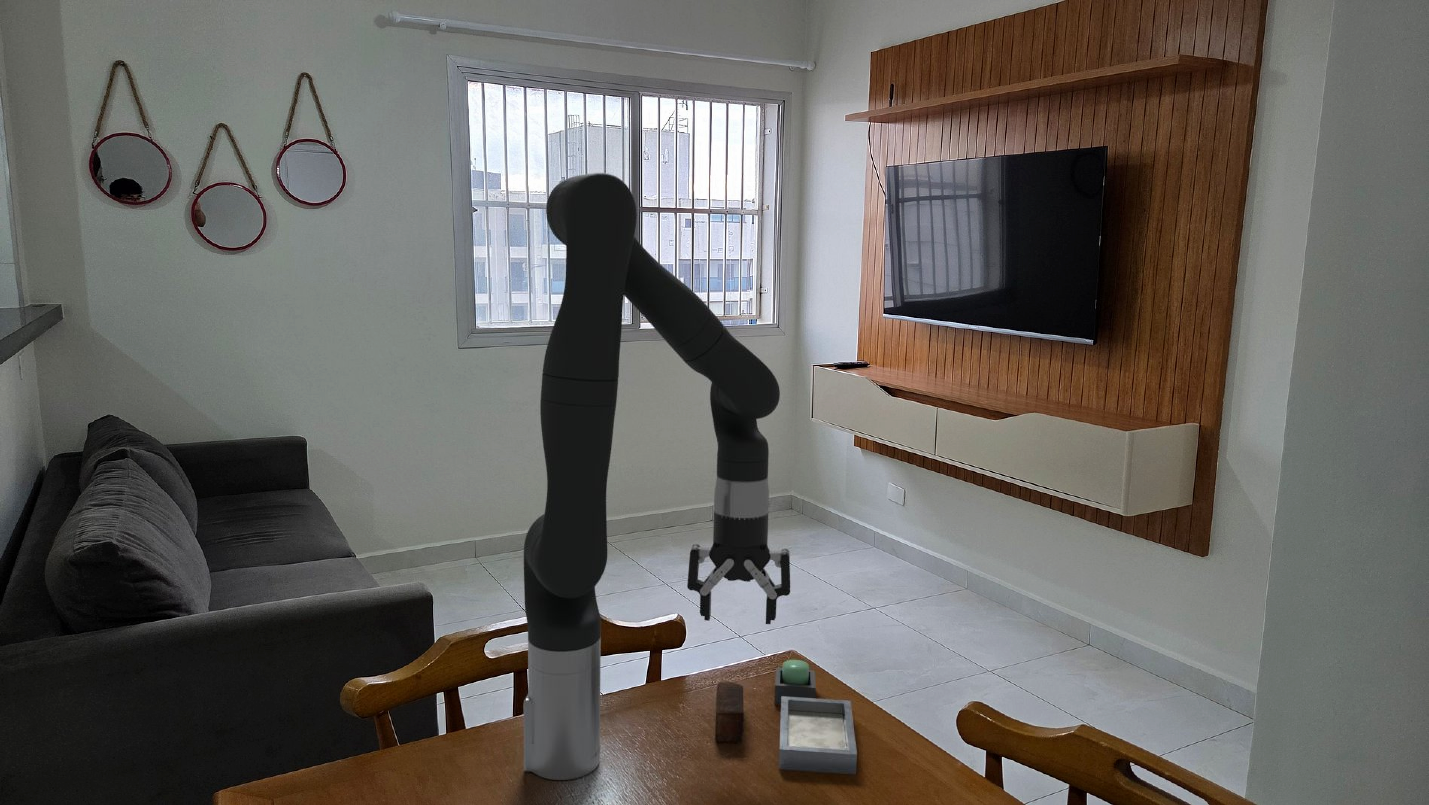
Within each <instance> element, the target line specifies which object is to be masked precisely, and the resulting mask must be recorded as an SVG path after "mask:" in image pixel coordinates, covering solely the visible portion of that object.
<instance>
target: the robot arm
mask: <svg viewBox="0 0 1429 805" xmlns="http://www.w3.org/2000/svg"><path fill="white" fill-rule="evenodd" d="M637 213H638V212H637V205H636V202H635V198H634V195H633V194H632V191H631V189H630V187H629V186H628V185H627V184H626V183H625V182H624V181H623V180H621V179H620V177H618V176H616V175H614V174H611V173H607V172H592V173H585V174H581V175H575V176H571V177H568V178H566V179H564V180H562V181H560V182H559V183H558V184H556V185H555V187H554V188H553V189H552V191H551V192H550V194H549V196H548V198H547V202H546V209H545V214H546V220H547V224H548V226H549V228H550V231H551V232H552V234H553V236H555V237H556V239H557V240H558V241H559V242H560V243H562V244H563V245H565V279H564V289H563V294H562V298H561V303H560V306H559V309H558V313H557V316H556V318H555V320H554V323H553V326H552V330H551V332H550V335H549V339H548V341H547V346H546V349H545V353H544V357H543V358H544V359H543V365H542V375H541V385H540V386H541V388H540V404H539V405H540V407H539V408H540V410H539V411H540V426H541V427H540V428H541V437H542V445H543V446H542V447H543V453H544V460H545V466H546V467H545V468H546V481H547V482H546V484H547V485H546V488H547V489H546V498H545V508H544V513H543V514H542V515H540V516H539V517H538V518H537V519H536V520H534V522H533V523H532V524H531V526H530V527H529V529H528V530H527V533H526V535H525V539H524V545H523V585H524V586H523V587H524V590H523V591H524V595H523V596H524V611H525V617H526V624H527V649H528V650H527V657H528V658H527V665H528V666H527V668H528V669H527V673H528V675H527V678H528V682H527V683H528V684H527V685H528V688H527V689H528V690H527V691H528V693H527V695H526V697H525V698H524V700H523V704H522V705H523V706H522V707H523V771H524V772H532V773H533V774H536V775H537V776H538V777H541V778H544V779H547V780H555V781H566V780H573V779H578V778H581V777H584V776H586V775H588V774H590V773H591V772H593V771H594V770H596V768H597V767H598V765H599V764H600V758H601V757H600V756H601V752H600V751H601V647H602V646H601V645H602V644H601V640H602V639H601V635H602V623H601V622H602V619H601V612H600V609H599V606H598V600H597V594H596V586H597V585H598V583H599V582H600V580H601V579H602V576H603V575H604V573H605V570H606V567H607V564H608V563H607V562H608V531H607V530H608V528H607V519H608V518H607V490H608V489H607V487H608V486H607V484H608V478H609V477H608V476H609V468H610V463H611V462H610V461H611V454H612V445H613V436H614V424H615V417H616V409H617V402H618V401H617V400H618V388H619V378H620V377H619V376H620V372H619V371H620V356H621V355H620V353H621V340H622V329H623V328H622V327H623V304H624V297H625V298H626V299H627V301H629V302H630V303H631V304H632V305H633V306H634V307H635V308H636V310H637V311H638V312H639V313H640V314H641V316H643V317H644V318H645V319H646V321H648V323H649V324H650V325H651V326H652V327H653V328H654V329H655V331H657V333H658V334H659V335H660V336H661V337H662V339H664V340H665V342H666V343H667V344H668V345H669V346H670V347H671V349H673V351H674V352H675V353H676V354H677V355H678V356H679V357H680V358H681V359H682V361H683V362H684V363H685V364H686V365H687V366H688V367H690V369H691V370H693V371H695V372H696V373H698V374H700V375H702V376H704V377H705V378H707V379H708V380H709V381H710V382H711V384H710V391H709V394H710V395H709V403H710V411H711V415H712V422H713V423H712V424H713V429H714V432H715V433H714V434H715V438H716V441H717V453H716V480H715V485H714V486H715V487H714V494H713V495H714V496H713V497H714V498H713V499H714V500H713V533H712V534H713V537H712V546H711V547H702V546H700V544H698V543H695V544H693V545H692V547H691V549H690V552H689V564H688V572H687V573H688V574H687V586H686V587H687V589H688V590H689V591H695V592H697V593H698V594H699V614H700V616H701V617H703V618H704V621H708V622H709V621H710V620H711V613H712V612H711V611H712V589H714V588H715V586H717V585H718V584H719V582H721V580H722V579H726V580H727V581H729V582H734V581H742V582H747V583H748V582H749V583H751V581H753V580H755V583H757V585H758V586H759V587H760V588H761V589H762V590H763V591H764V593H765V594H766V605H765V606H766V607H765V625H771V624H772V622H771V621H775V620H776V618H777V600H778V599H779V598H780V597H782V596H785V597H786V596H789V595H790V594H791V567H790V566H791V563H790V562H791V560H790V559H791V558H790V557H791V556H790V554H791V552H790V551H789V549H787V548H782V549H781V551H780V550H779V551H778V550H770V549H769V546H768V540H769V513H770V512H769V511H770V510H769V509H770V508H769V507H770V489H769V488H770V487H769V457H770V456H769V453H770V452H769V443H768V440H767V438H766V437H765V436H764V435H763V434H762V433H761V432H760V430H759V427H758V422H757V421H758V420H759V419H764V418H766V417H768V416H769V415H772V413H773V412H774V411H775V410H776V408H777V407H778V405H779V402H780V395H781V392H780V385H779V383H778V379H777V378H776V376H775V374H774V373H773V372H772V370H771V369H770V368H769V367H768V366H767V364H765V363H764V361H762V360H761V359H760V358H758V357H757V355H755V354H754V353H753V352H752V351H751V350H750V349H749V348H747V347H746V346H745V345H743V343H741V342H740V341H739V340H737V339H736V338H735V337H734V336H733V335H732V334H731V333H730V332H729V330H728V329H727V328H726V326H725V325H724V324H723V322H722V321H721V320H720V318H718V317H717V316H716V314H715V313H714V312H713V311H712V310H711V309H710V308H709V306H708V305H707V304H706V303H705V302H704V301H703V300H702V298H700V297H699V296H698V295H697V294H696V293H695V292H694V291H693V290H692V289H691V288H690V287H688V285H686V284H685V283H684V282H682V281H681V280H680V279H679V278H678V277H676V275H674V274H673V273H672V272H671V271H669V270H668V269H666V268H665V267H664V266H663V265H662V264H661V263H660V262H658V260H656V259H655V258H654V257H653V255H652V254H650V253H649V252H648V251H647V250H646V248H644V247H643V245H642V244H641V243H640V242H639V240H638V239H637V238H636V237H635V233H636V227H637V220H638V219H637V216H638V215H637ZM707 557H709V559H710V560H711V562H712V563H713V565H714V568H713V569H712V570H711V572H710V573H709V575H708V576H707V577H706V578H705V579H704V580H700V579H699V571H700V570H699V569H700V564H703V563H704V562H705V559H706V558H707ZM770 561H773V562H774V565H775V567H777V568H778V569H780V582H781V583H779V584H775V582H774V581H773V580H772V578H771V577H770V575H769V573H768V572H767V570H766V569H765V567H766V566H767V565H768V564H769V562H770Z"/></svg>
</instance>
